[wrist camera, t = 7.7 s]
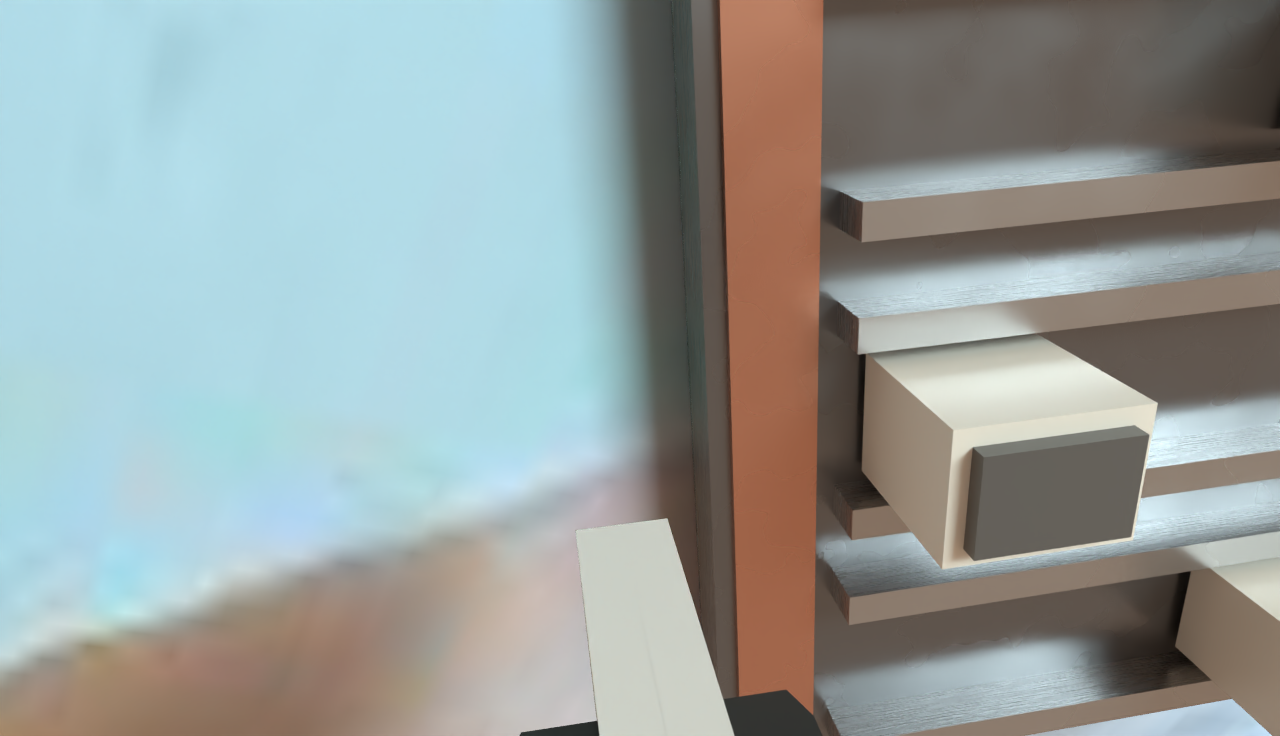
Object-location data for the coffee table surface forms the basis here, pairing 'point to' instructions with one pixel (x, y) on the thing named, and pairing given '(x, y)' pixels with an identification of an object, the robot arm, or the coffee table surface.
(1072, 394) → the block
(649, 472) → the coffee table surface
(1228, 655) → the block
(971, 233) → the panel
